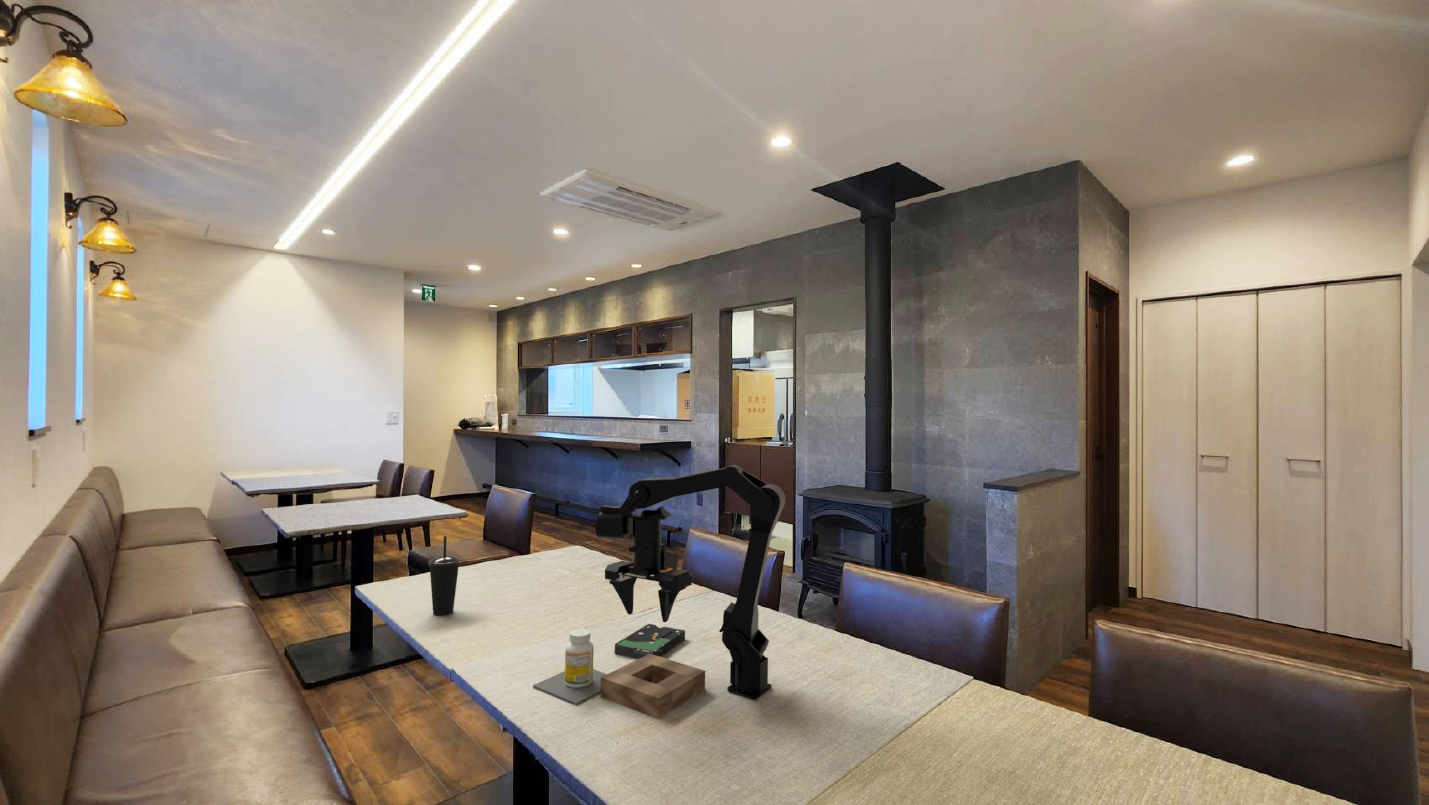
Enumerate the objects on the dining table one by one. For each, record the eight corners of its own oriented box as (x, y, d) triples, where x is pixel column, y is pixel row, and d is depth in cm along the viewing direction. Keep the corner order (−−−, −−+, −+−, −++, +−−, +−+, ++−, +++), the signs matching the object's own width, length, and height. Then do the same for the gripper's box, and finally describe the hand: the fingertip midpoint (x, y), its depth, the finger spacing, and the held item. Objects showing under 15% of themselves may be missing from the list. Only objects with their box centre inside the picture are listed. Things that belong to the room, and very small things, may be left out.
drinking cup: (427, 610, 157) (429, 534, 158) (458, 606, 161) (460, 532, 161) (426, 619, 150) (428, 540, 151) (459, 615, 154) (461, 537, 154)
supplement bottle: (581, 691, 111) (582, 639, 112) (558, 685, 114) (559, 634, 114) (598, 679, 116) (599, 630, 117) (576, 674, 118) (577, 626, 119)
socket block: (704, 689, 114) (705, 670, 114) (658, 719, 102) (658, 698, 102) (649, 670, 122) (649, 653, 122) (600, 696, 110) (600, 677, 110)
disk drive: (647, 635, 144) (613, 656, 130) (647, 623, 144) (613, 643, 130) (685, 642, 140) (654, 664, 126) (685, 629, 140) (655, 651, 126)
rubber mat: (622, 681, 116) (622, 679, 116) (576, 705, 107) (576, 703, 107) (580, 666, 123) (580, 664, 123) (532, 687, 113) (533, 685, 113)
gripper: (706, 538, 122) (707, 614, 122) (637, 530, 132) (638, 600, 132) (674, 547, 113) (675, 630, 112) (602, 538, 123) (603, 614, 123)
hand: (647, 617), depth 120 cm, fingers open, 9 cm apart
